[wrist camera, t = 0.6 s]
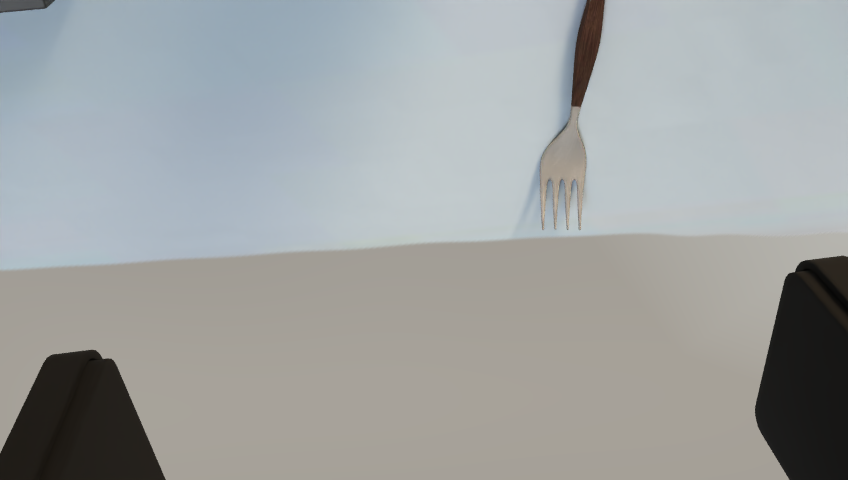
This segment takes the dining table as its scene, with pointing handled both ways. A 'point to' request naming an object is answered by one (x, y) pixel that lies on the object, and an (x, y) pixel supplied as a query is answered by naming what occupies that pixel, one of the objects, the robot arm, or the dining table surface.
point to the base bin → (23, 5)
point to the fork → (573, 119)
